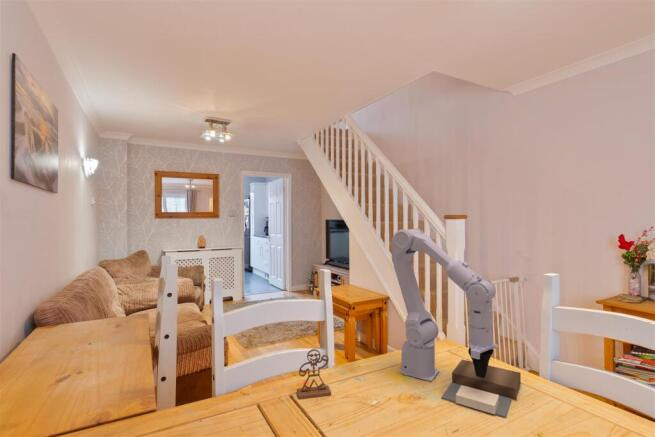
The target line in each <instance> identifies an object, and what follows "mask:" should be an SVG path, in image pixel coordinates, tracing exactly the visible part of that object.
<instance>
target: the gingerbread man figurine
mask: <svg viewBox="0 0 655 437" xmlns="http://www.w3.org/2000/svg"><path fill="white" fill-rule="evenodd" d="M312 352H317V353H314V354H313V353H312ZM306 357H307V358H306V359H307V360H308V362H304V363H303V364H302V365H301V366H300V368H299V369H298V373H299V376H300V377H305V376H306V375H307V374H308V375H307V378H306V380H305V382H304V383H303V386H302V387H301V388H297V389H296V396H297V398H298V400H307V399H316V398H323V397H330V396H331V397H332V390H331V388H330V387H329V386H330V385H326V383H325V382H324V381H323V379H322V378H321V375H320V370H321V369H323V368H325V367H327V365H328V363H329V356H328V355H327V354H323V355H322V356H321V352H320V351H319V350H318V349H316V348H313V349H311V350H309V351H308V352H307V354H306ZM313 357H315V358H313ZM325 357H326V358H325ZM322 362H325V363H324V364H323V365H322V366H319V367H318V364H320V363H322ZM306 365H310V367H311V368H312V374H310V368H308V367H307V368H306V369H304V370H303V369H302V368H304V367H305V366H306ZM316 367H317V368H318V369H317V370H318V371H317V373H316V371H315V369H316ZM301 373H303V374H301ZM313 377H314V378H315V377H318V378H319V380H320V381H321V383H320V384H318V383H317V381H316V380H315V379H314V378H313ZM310 378H313V379H312V381H311V383H310V385H309V386H308V385H306V384H307V383H308V381H309V379H310ZM314 384H315V385H316V386H313V385H314Z"/></svg>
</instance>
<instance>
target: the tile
mask: <svg viewBox="0 0 655 437" xmlns="http://www.w3.org/2000/svg"><path fill="white" fill-rule="evenodd" d="M455 404H457V405H461V404H462V405H461V406H464V405H465V407H467V406H468V407H469V408H471V407H472V408H471V409H474V408H475V410H477V409H478V411H481V410H482V411H481V412H484V411H485V412H484V413H487V412H488V413H487V414H491V413H492V414H491V415H494V414H495V413H496V410H497V407H498V404H499V395H497V394H493V393H489V392H485V391H482V390H478V389H474V388H471V387H467V386H463V385H461V387H460V389H459V390H458V392H457V394H456V403H455Z"/></svg>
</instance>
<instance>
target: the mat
mask: <svg viewBox="0 0 655 437" xmlns="http://www.w3.org/2000/svg"><path fill="white" fill-rule="evenodd" d="M460 387H461V385H459V384H455V383H452V382H451V383H450V384H449V386H448V387H447V388H446V390H445V392H444V393H443V395H442V396H441V400H445V401H448V402H452V403H454V404H457V403H456V394H457V392H458V390H459V389H460ZM511 402H512V399H511V398H507V397H504V396H500V395H499V404H498V407H497V410H496V413H495V414H492V413H490V414H491V415H494V416H498V417H501V418H504V419H506V418H507V416H508V412H509V410H510V406H511ZM460 406H465V405H462V404H460ZM465 407H468V406H465ZM470 408H471V409H475V408H472V407H470ZM475 410H478V409H475ZM478 411H479V410H478ZM480 411H481V412H484V413H487V414H489V413H488V412H485V411H482V410H480Z"/></svg>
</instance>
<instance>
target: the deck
mask: <svg viewBox="0 0 655 437" xmlns="http://www.w3.org/2000/svg"><path fill="white" fill-rule="evenodd" d="M521 375H522V374H521V372H520V371H514V370H510V369H506V368H502V367H497V366H492V365H489V364H488V368H487V373H486V376H485V378H481V377H477V376H476V373H475V369H474V364H473V361H472V360H468V359H467V360H466V359H461V360H460V361H459V362H458V364H457V365H456V367H455V368H454V369H453V371H452V373H451V383H455V384H459V385H463V386H467V387H471V388H474V389H478V390H482V391H485V392H489V393H493V394H497V395H500V396H504V397H507V398H511V401H517V398H518V394H519V390H520V387H521V380H522V379H521V378H522V377H521Z"/></svg>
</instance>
